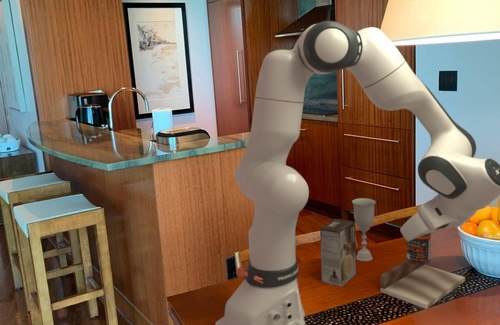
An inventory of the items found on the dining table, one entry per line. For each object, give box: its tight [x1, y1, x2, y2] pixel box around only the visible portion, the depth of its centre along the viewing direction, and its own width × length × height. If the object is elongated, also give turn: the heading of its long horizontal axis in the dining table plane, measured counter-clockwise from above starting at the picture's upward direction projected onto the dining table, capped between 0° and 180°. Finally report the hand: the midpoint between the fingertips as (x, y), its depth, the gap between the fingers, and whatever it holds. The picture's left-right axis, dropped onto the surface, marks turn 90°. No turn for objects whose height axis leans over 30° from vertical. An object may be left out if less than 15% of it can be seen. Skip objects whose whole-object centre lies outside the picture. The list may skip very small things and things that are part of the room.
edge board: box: [380, 259, 466, 310], centre depth 129 cm, size 20×13×5 cm, turn 131°
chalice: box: [351, 197, 377, 262], centre depth 147 cm, size 7×7×18 cm
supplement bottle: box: [406, 233, 432, 265], centre depth 128 cm, size 6×6×11 cm
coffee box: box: [319, 218, 357, 287], centre depth 135 cm, size 9×6×16 cm
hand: (416, 235), depth 128 cm, fingers closed on supplement bottle, 6 cm apart
